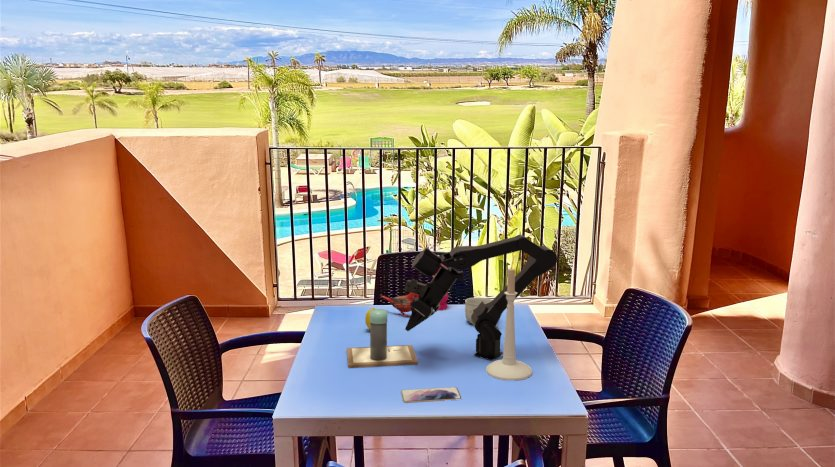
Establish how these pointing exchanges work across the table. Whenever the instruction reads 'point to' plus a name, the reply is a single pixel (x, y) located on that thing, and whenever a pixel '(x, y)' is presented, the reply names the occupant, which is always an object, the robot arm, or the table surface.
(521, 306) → the table surface
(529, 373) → the candlestick
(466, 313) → the teacup
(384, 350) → the canister
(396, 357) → the writing board
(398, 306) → the decorative bird figurine
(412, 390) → the smartphone
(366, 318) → the lemon
